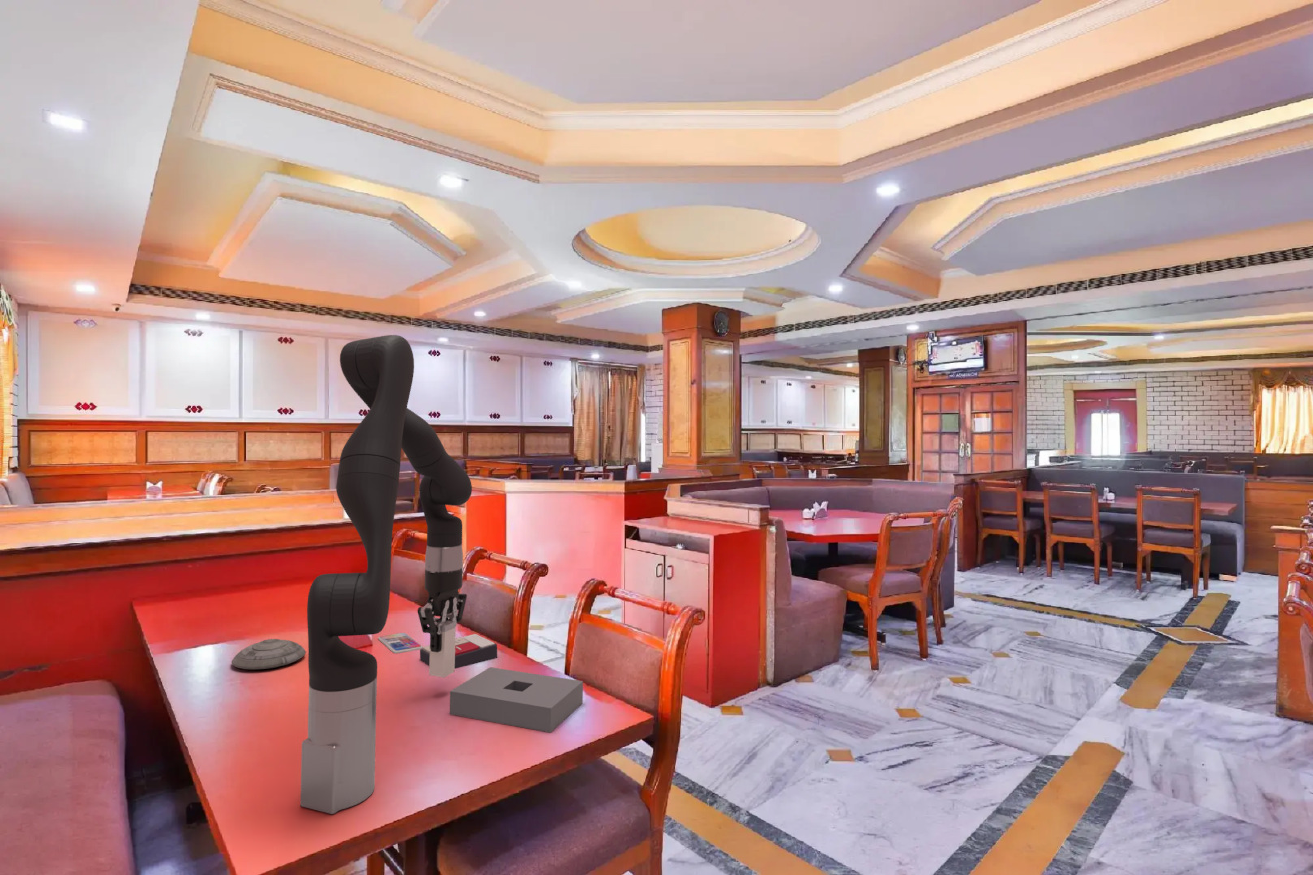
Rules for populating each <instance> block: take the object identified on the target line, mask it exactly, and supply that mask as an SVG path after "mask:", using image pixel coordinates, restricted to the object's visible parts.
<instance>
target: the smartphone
mask: <svg viewBox="0 0 1313 875" xmlns="http://www.w3.org/2000/svg"><path fill="white" fill-rule="evenodd" d="M377 639H378V641H380V643H382V644H383V645H384V646H385V647H386V649H388V650H390V651H391V652H392V653H393V654H396V655H398V654H402V653H409V652H413V651H418V650H419V651H420V649H423V647H424V646H423V645H422V644H421V643H419V642H418V641H416V640H415V639H414V638H413V637H411V636H410V635H409V634H408V633H406V632H397V633H393V634H391V633H390V634H386V635H380V636H378V638H377Z"/></svg>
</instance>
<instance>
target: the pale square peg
mask: <svg viewBox="0 0 1313 875" xmlns="http://www.w3.org/2000/svg"><path fill="white" fill-rule="evenodd" d="M435 626H436V628H437V622H435ZM456 627H457V625H456V622H455V621H448V620H445V622H444V623H443V626H442V632H441V634H442V646H441V651H440V652H432V651H431V649H430V662H429V665H428V666H429V667H428V669H429V670H428V671H429V672H428V675H429V676H433V677H436V678H437V677H438V678H446V677H447V676H449V675H451V674H453V673H454V672H455V669H456V668H455V638H456V632H457V631H456V630H457V629H456Z"/></svg>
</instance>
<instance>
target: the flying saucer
mask: <svg viewBox="0 0 1313 875" xmlns="http://www.w3.org/2000/svg"><path fill="white" fill-rule="evenodd" d="M306 653H307V651H306V650H305V648H304V647H303V646H302V645H301V644H300V643H298V642H295V641H292V640H288V639H279V638H268V639H264V640H260V641H259V642H257V643H256V642H255V643H252V644H250V645H249V646H246V647H244V648H243V649H241V650H240V651H239V652H238V653H236V654H235V656H234V657H233V658H232V660H231V665H232V666H234V667H236V668H238V669H242V670H265V669H266V670H268V669H274V668H278V667H283V666H286V665H289V664H291V663H292V664H293V663H294V662H297V661H299V660H300V659H301V658H303V657H304V656H305V655H306Z"/></svg>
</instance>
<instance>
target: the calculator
mask: <svg viewBox="0 0 1313 875" xmlns="http://www.w3.org/2000/svg"><path fill="white" fill-rule="evenodd" d="M497 658H498V644H497V643H495V642H493V641H491V640H489V639H487V638H485V637H482V636H480V635H479V634H477V633H474V634H470V635H469V634H468V635H465V636H463V637H461V636H459V637H455V669H458V668H463V667H466V666H470V665H473V664H476V663H479V662H482V663H483V662H487V661H491V660H495V659H497ZM419 660H420V661H421V662H422V663H424V664H426V665H427V666H429V662H430V644H428V645H425V646H423V648H422V649H419Z"/></svg>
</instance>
